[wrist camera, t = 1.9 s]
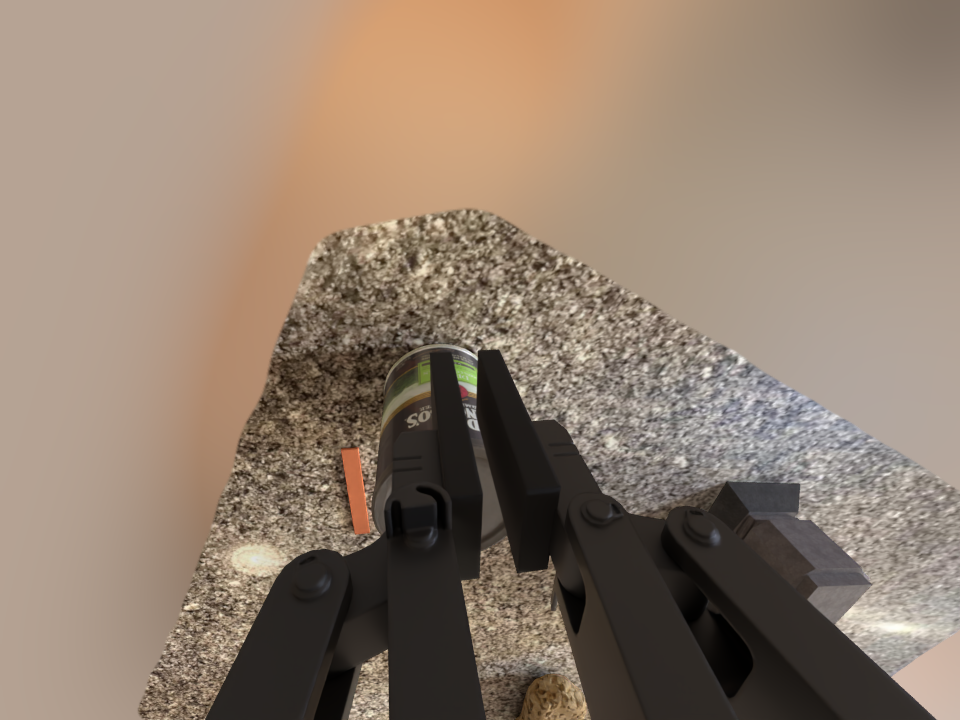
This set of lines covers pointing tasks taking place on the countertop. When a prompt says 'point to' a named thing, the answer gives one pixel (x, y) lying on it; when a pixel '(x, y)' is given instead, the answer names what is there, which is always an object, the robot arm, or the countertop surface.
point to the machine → (792, 544)
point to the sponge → (553, 700)
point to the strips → (355, 489)
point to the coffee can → (431, 428)
